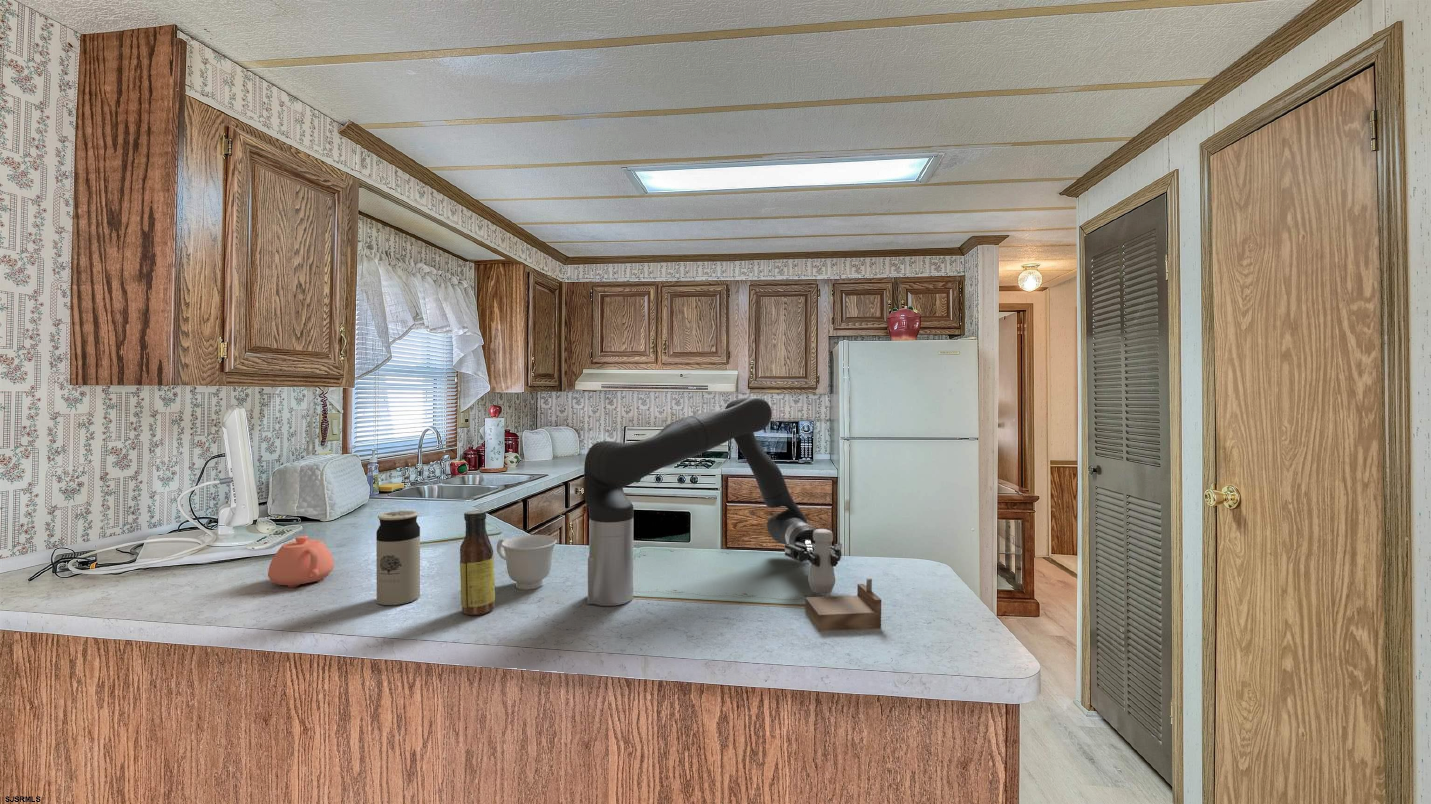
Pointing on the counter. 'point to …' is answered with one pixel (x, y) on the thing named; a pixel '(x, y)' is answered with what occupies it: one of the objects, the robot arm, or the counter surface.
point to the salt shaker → (822, 563)
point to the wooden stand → (846, 610)
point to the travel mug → (398, 558)
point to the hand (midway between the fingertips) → (826, 561)
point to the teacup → (527, 558)
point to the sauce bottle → (476, 566)
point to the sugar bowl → (300, 562)
